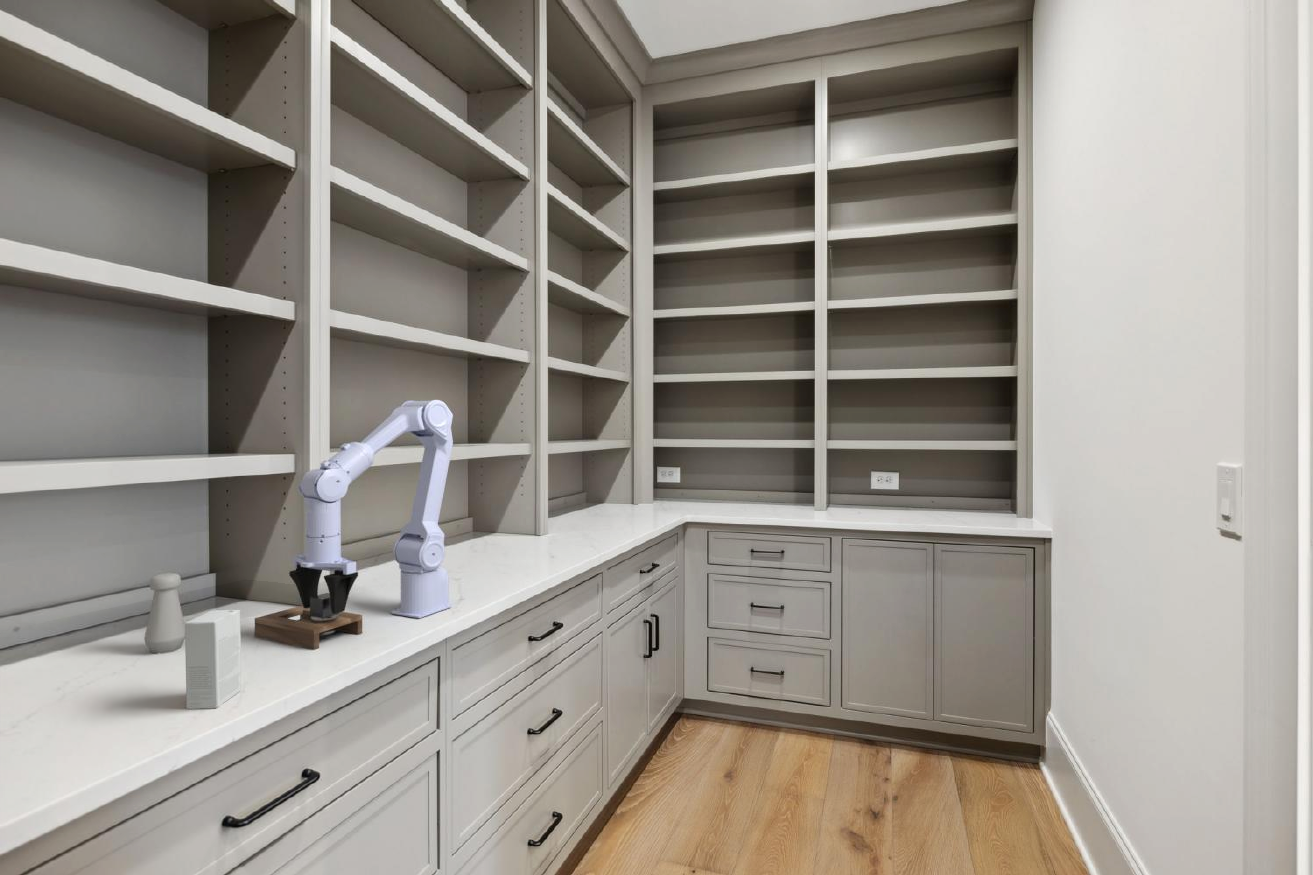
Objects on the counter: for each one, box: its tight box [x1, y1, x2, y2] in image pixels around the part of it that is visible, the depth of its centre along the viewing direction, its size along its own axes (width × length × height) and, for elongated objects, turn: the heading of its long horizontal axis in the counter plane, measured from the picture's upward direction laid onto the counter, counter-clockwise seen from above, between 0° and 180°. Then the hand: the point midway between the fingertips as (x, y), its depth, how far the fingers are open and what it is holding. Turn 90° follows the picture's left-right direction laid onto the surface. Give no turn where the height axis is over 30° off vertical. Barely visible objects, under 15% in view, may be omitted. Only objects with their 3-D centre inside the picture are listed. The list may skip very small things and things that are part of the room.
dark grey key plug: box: [310, 592, 339, 636], centre depth 118 cm, size 4×4×7 cm
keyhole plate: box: [254, 604, 363, 650], centre depth 120 cm, size 10×16×3 cm, turn 65°
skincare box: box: [184, 609, 242, 710], centre depth 91 cm, size 6×4×12 cm
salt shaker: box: [143, 572, 185, 654], centre depth 111 cm, size 6×6×13 cm
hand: (323, 609), depth 118 cm, fingers open, 7 cm apart
